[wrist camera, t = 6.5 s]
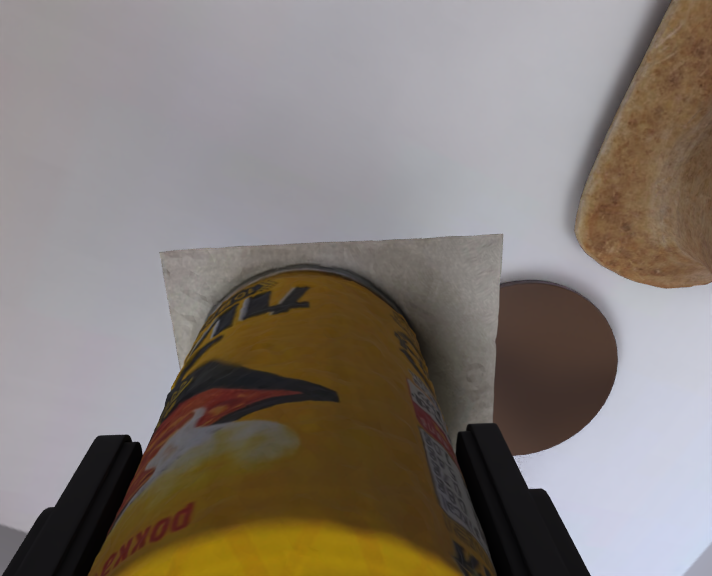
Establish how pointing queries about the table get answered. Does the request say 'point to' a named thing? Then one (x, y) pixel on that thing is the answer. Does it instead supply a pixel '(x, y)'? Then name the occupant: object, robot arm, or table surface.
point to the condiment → (317, 413)
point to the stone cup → (658, 163)
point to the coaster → (549, 364)
